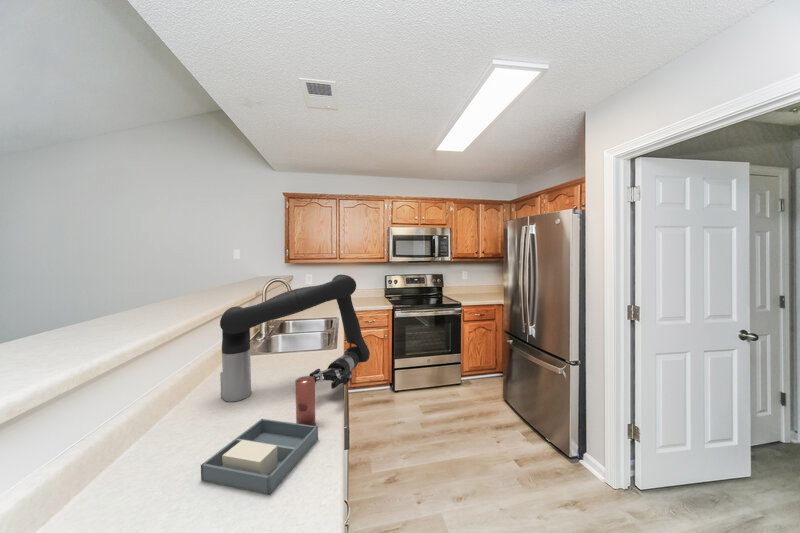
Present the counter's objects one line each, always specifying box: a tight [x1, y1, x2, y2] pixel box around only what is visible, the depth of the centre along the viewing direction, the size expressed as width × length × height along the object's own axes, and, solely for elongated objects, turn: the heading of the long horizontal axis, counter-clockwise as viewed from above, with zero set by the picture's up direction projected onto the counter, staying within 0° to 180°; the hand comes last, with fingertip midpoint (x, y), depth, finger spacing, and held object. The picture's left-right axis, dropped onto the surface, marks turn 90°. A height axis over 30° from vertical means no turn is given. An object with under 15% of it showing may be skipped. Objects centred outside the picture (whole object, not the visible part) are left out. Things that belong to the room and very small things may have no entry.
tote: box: [200, 418, 319, 496], centre depth 75 cm, size 18×20×4 cm
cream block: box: [222, 440, 278, 476], centre depth 70 cm, size 10×6×5 cm, turn 76°
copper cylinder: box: [294, 375, 316, 426], centre depth 91 cm, size 6×6×14 cm
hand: (320, 384), depth 100 cm, fingers open, 8 cm apart
